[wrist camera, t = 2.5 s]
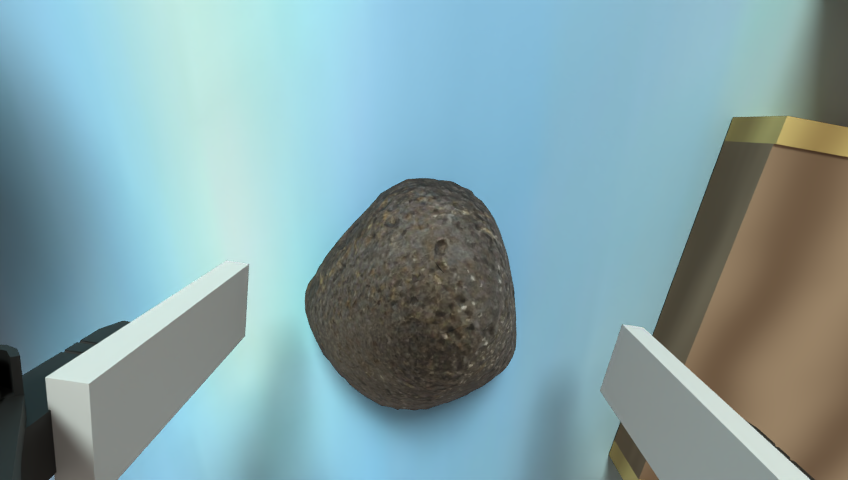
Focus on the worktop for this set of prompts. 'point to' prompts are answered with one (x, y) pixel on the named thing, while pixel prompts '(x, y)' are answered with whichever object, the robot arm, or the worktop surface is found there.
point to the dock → (768, 292)
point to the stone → (416, 297)
